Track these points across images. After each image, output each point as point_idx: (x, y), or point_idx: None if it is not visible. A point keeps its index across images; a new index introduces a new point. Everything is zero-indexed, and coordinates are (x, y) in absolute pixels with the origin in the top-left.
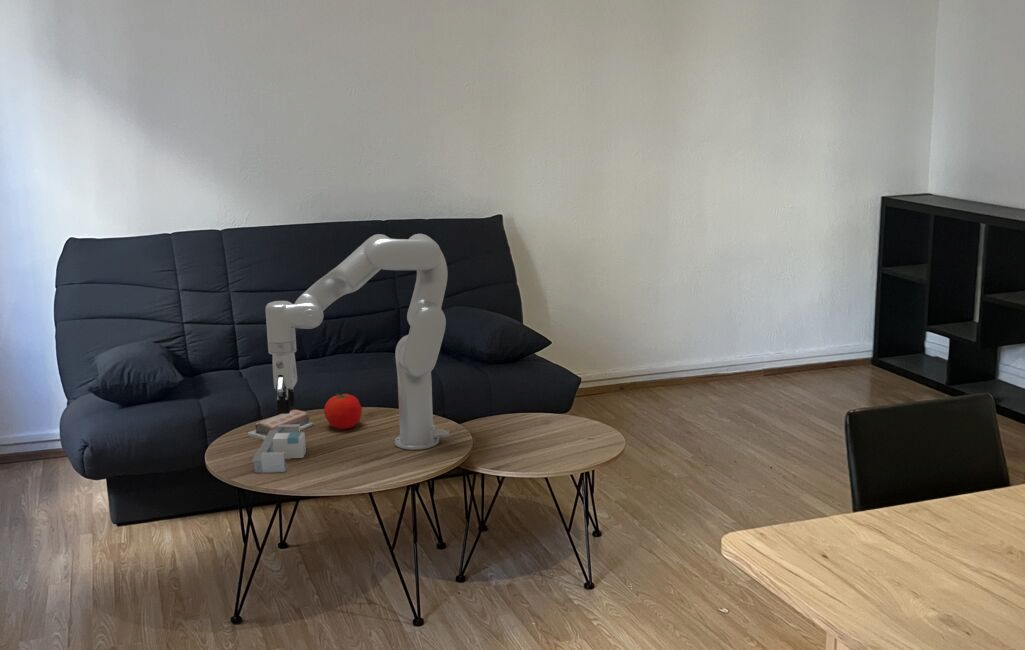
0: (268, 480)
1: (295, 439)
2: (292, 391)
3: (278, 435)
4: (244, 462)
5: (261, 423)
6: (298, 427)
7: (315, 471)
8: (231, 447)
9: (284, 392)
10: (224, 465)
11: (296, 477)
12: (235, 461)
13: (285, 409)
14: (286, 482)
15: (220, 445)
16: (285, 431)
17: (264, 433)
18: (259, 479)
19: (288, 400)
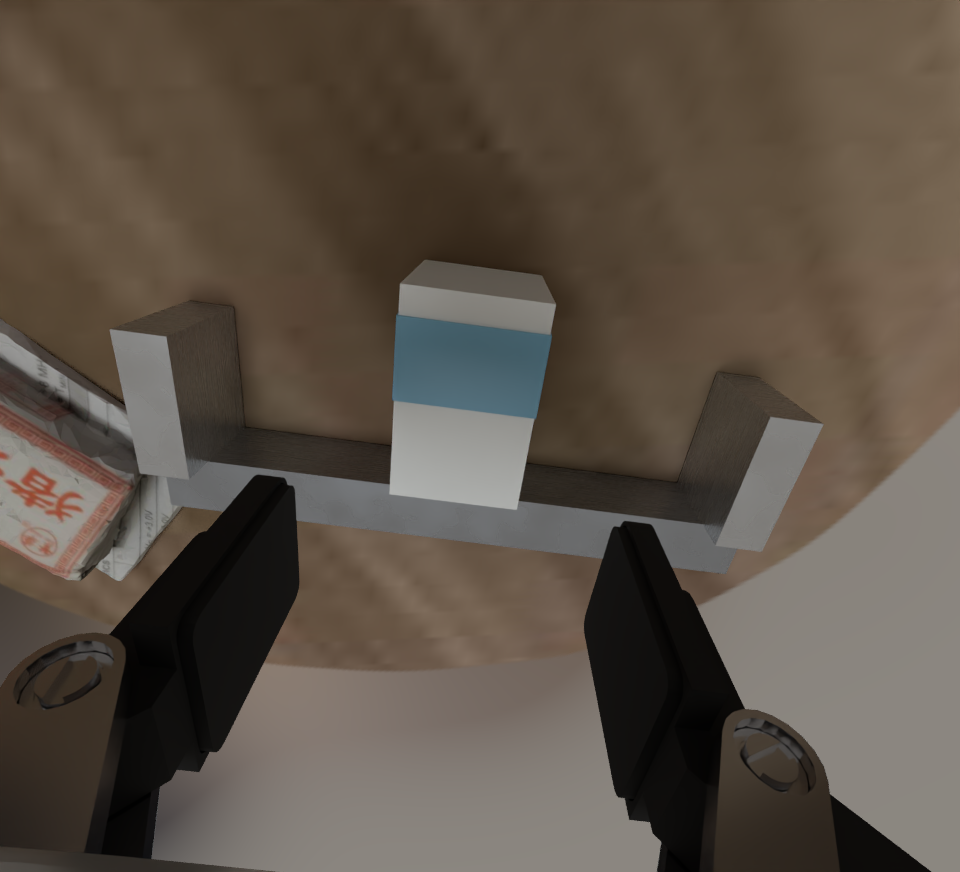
0: (848, 455)
1: (545, 354)
2: (133, 642)
3: (446, 477)
4: (525, 565)
5: (83, 559)
6: (171, 335)
7: (837, 180)
8: (299, 620)
9: (194, 739)
10: (543, 632)
11: (886, 308)
12: (500, 598)
13: (693, 607)
14: (940, 363)
15: (270, 656)
16: (201, 417)
17: (125, 510)
18: (808, 496)
19: (721, 683)
